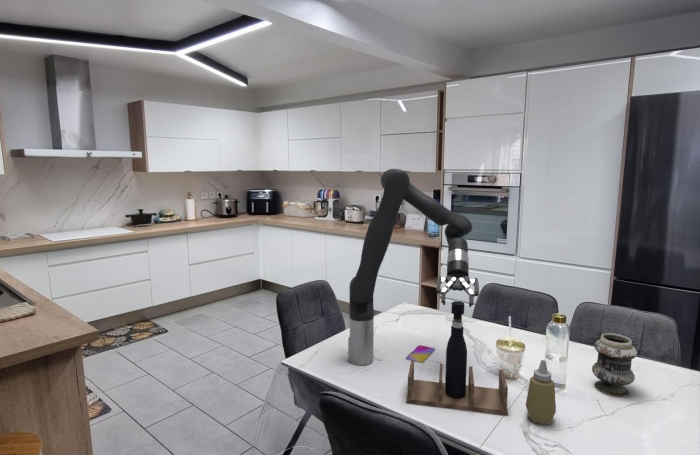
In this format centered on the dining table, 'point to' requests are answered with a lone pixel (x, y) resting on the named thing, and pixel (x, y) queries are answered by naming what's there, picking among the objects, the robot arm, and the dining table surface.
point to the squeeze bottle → (541, 396)
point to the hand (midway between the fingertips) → (457, 305)
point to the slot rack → (473, 400)
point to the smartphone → (420, 354)
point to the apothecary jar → (614, 364)
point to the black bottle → (456, 356)
